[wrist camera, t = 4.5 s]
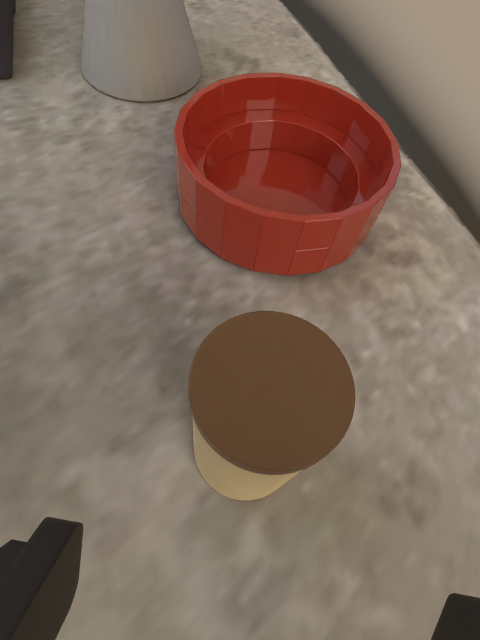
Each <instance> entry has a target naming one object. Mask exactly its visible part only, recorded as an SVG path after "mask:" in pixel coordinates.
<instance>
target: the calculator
mask: <svg viewBox="0 0 480 640" xmlns="http://www.w3.org/2000/svg"><path fill="white" fill-rule="evenodd" d="M13 13H15V0H0V79H4V78H10V77H11V76H12V43H13Z"/></svg>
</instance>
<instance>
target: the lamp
mask: <svg viewBox="0 0 480 640" xmlns="http://www.w3.org/2000/svg"><path fill="white" fill-rule="evenodd" d="M81 70H82V73H83V75H84V77H85V78H86V80H87V81H88V82H89V83H90V84H91V85H92V86H94V87H95V88H96V89H98V90H99V91H101V92H103V93H105V94H107V95H109V96H112V97H115V98H118V99H123V100H128V101H136V102H156V101H162V100H167V99H171V98H174V97H177V96H179V95H181V94H184V93H186V92H187V91H188V90H190V89H191V88H193V86H194V85H195V84H196V83H197V82H198V80H199V78H200V76H201V73H202V66H201V63H200V59H199V56H198V52H197V48H196V45H195V41H194V38H193V34H192V31H191V27H190V24H189V20H188V16H187V13H186V9H185V6H184V2H183V0H85V14H84V28H83V43H82V57H81Z"/></svg>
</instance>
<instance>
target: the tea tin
mask: <svg viewBox="0 0 480 640" xmlns="http://www.w3.org/2000/svg"><path fill="white" fill-rule="evenodd" d="M188 390H189V402H190V408H191V412H192V416H193V444H194V457H195V461H196V464H197V467H198V470H199V472H200V473H201V475H202V477H203V478H204V480H205V481H206V482H207V483H208V484H209V485H210V486H211V487H212V488H213V489H214V490H215V491H217V492H218V493H220V494H222V495H223V496H226V497H228V498H231V499H235V500H242V501H249V500H256V499H260V498H263V497H265V496H267V495H269V494H271V493H272V492H274V491H275V490H277V489H278V488H279V487H280V486H282V485H283V484H284V483H286V482H287V481H288V480H289V479H291V478H292V477H293V476H295V475H296V474H297V473H299V472H300V471H301V470H303V469H306V468H308V467H310V466H312V465H314V464H315V463H316V462H318V461H319V460H321V459H322V458H323V457H325V456H326V455H328V454H329V453H330V452H331V451H332V450H333V449H334V448H335V447H336V446H337V445H338V444H339V442H340V441H341V440H342V438H343V437H344V435H345V433H346V432H347V430H348V428H349V425H350V423H351V420H352V417H353V412H354V406H355V387H354V382H353V377H352V374H351V371H350V368H349V365H348V363H347V361H346V359H345V357H344V356H343V354H342V352H341V351H340V349H339V348H338V347H337V345H336V344H335V343H334V342H333V341H332V340H331V339H330V338H329V337H328V336H327V335H326V334H325V333H324V332H323V331H321V330H320V329H319V328H317V327H316V326H314V325H313V324H311V323H310V322H308V321H305V320H303V319H301V318H299V317H296V316H293V315H290V314H286V313H282V312H274V311H257V312H250V313H246V314H242V315H239V316H236V317H233V318H231V319H229V320H227V321H225V322H224V323H222V324H221V325H219V326H218V327H216V328H215V329H214V330H213V331H212V332H211V333H210V334H209V335H208V336H207V337H206V338H205V339H204V340H203V342H202V343H201V345H200V346H199V348H198V350H197V352H196V354H195V356H194V358H193V361H192V364H191V368H190V373H189V387H188Z"/></svg>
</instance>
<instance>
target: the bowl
mask: <svg viewBox="0 0 480 640" xmlns="http://www.w3.org/2000/svg"><path fill="white" fill-rule="evenodd" d="M174 145H175V163H176V180H177V195H178V200H179V205H180V210H181V215H182V217H183V219H184V220H185V222H186V223H187V225H188V226H189V228H190V229H191V231H192V233H193V234H194V236H195V237H196V238H197V239H198V240H199V241H200V242H201V243H203V244H204V245H205V246H206V247H208V248H209V249H210V250H212V251H213V252H214V253H215V254H217V255H218V256H219V257H221V258H222V259H225V260H227V261H230V262H232V263H234V264H237V265H239V266H242V267H244V268H246V269H249V270H251V271H252V270H253V271H257V272H264V273H271V274H278V275H285V276H286V275H287V276H290V275H298V274H306V273H314V272H320V271H323V270H325V269H327V268H329V267H332V266H334V265H336V264H338V263H341V262H343V261H345V260H347V259H348V258H349V257H350V256H351V255H352V254H353V253H354V252H355V251H356V250H357V249H358V248H359V247H360V246H361V245H362V244H363V243H364V241H365V239H366V238H367V236H368V234H369V232H370V230H371V228H372V226H373V225H374V223H375V221H376V219H377V217H378V215H379V214H380V212H381V210H382V208H383V206H384V204H385V202H386V201H387V199H388V197H389V195H390V193H391V191H392V189H393V188H394V185H395V182H396V179H397V177H398V174H399V171H400V168H401V159H400V153H399V146H398V141H397V140H396V138H395V136H394V135H393V133H392V132H391V130H390V128H389V127H388V125H387V124H386V122H385V121H384V119H383V118H381V117H380V116H379V115H378V114H377V113H376V112H375V111H374V110H372V109H371V108H370V107H369V106H368V105H367V104H366V103H365V102H363V101H362V100H360V99H358V98H356V97H355V96H353V95H351V94H349V93H347V92H346V91H344V90H342V89H340V88H338V87H336V86H333V85H330V84H327V83H324V82H321V81H318V80H315V79H312V78H309V77H304V76H297V75H291V74H284V73H248V74H242V75H238V76H234V77H229V78H225V79H221V80H218V81H216V82H214V83H213V84H211V85H209V86H207V87H205V88H203V89H201V90H199V91H197V92H196V93H195V94H194V95H193V96H192V97H191V98H190V100H189V101H188V102H187V103H186V104H185V105H184V106H183V107H182V108H181V110H180V112H179V116H178V119H177V122H176V126H175V129H174Z"/></svg>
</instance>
